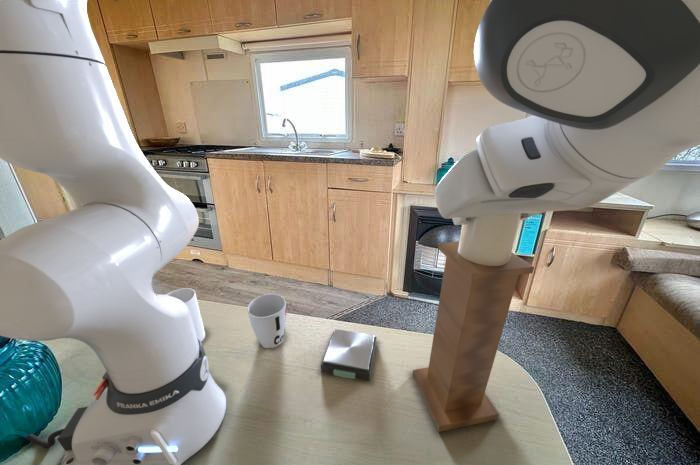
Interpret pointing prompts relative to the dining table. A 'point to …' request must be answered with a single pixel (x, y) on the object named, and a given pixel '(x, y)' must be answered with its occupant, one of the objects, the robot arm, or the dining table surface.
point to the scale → (349, 355)
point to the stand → (467, 338)
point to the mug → (191, 308)
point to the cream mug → (489, 239)
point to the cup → (268, 319)
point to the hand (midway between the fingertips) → (487, 217)
